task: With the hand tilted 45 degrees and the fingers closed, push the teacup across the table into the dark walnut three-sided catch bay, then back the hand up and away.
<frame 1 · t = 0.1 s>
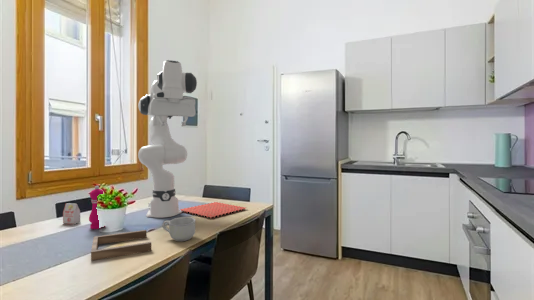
hand: (173, 125, 139), 48 cm above the table, tool pointing down, fingers open, 8 cm apart
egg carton: (213, 212, 177), on the table
teacup: (179, 239, 126), on the table
small food carton: (71, 223, 152), on the table
pepper mill: (97, 227, 144), on the table
catch bay: (123, 247, 117), on the table
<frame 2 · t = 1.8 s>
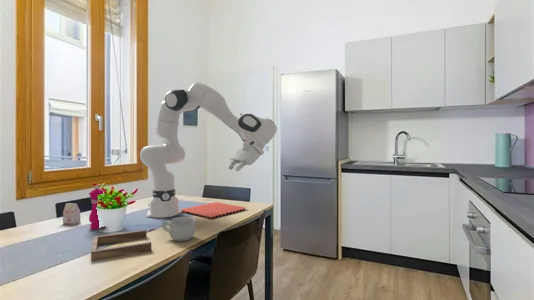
hand: (232, 169, 137), 28 cm above the table, tool tilted 45°, fingers open, 8 cm apart
nothing on the table moved.
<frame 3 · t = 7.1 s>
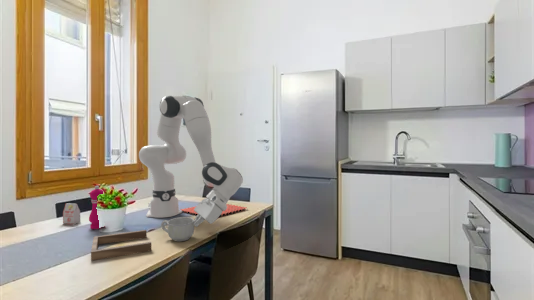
hand: (194, 225, 129), 5 cm above the table, tool tilted 45°, fingers closed
teacup: (177, 239, 126), on the table, touching gripper
everything else where it was.
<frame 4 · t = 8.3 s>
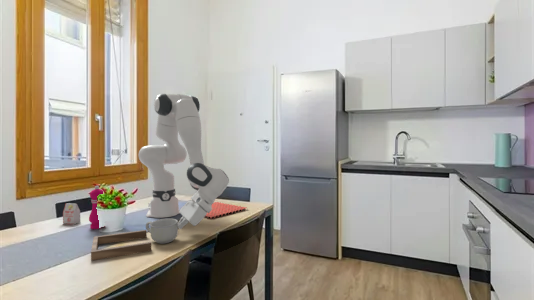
hand: (178, 227, 126), 5 cm above the table, tool tilted 45°, fingers closed, pressing on teacup
teacup: (161, 241, 124), on the table, touching gripper
everything else where it was.
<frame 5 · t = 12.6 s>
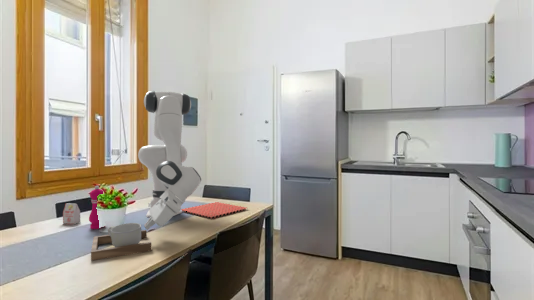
hand: (145, 227, 121), 6 cm above the table, tool tilted 45°, fingers closed
teacup: (124, 247, 117), resting in catch bay
everything else where it was.
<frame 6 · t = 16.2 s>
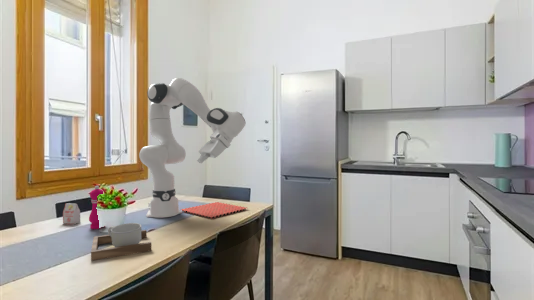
hand: (199, 162, 136), 31 cm above the table, tool tilted 45°, fingers closed
nothing on the table moved.
at the end: teacup inside the target area on the catch bay (2.5 cm from its centre), point 0.0 cm above the catch bay's base; teacup tilted 0°; the gripper is holding nothing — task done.
